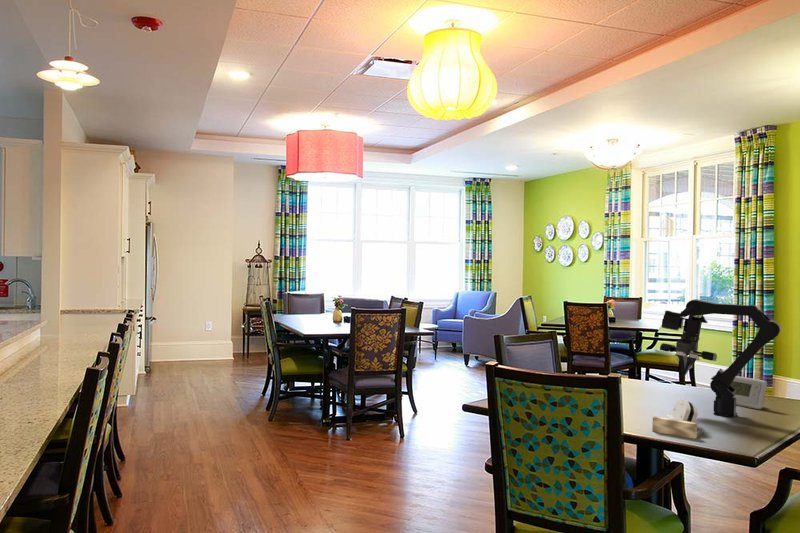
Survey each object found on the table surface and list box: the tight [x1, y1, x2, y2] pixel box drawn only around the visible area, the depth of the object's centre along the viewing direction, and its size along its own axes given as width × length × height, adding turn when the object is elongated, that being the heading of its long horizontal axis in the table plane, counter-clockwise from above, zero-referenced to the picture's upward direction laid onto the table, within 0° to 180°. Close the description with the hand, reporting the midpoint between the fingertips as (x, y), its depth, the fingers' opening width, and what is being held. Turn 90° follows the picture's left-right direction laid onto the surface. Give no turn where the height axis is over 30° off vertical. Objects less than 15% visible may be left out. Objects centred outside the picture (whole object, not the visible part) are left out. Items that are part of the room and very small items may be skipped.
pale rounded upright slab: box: [665, 398, 699, 423], centre depth 220 cm, size 17×5×10 cm, turn 169°
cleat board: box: [651, 415, 703, 440], centre depth 213 cm, size 13×8×4 cm, turn 51°
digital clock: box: [731, 375, 768, 410], centre depth 255 cm, size 16×9×11 cm, turn 21°
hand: (684, 375), depth 244 cm, fingers closed
